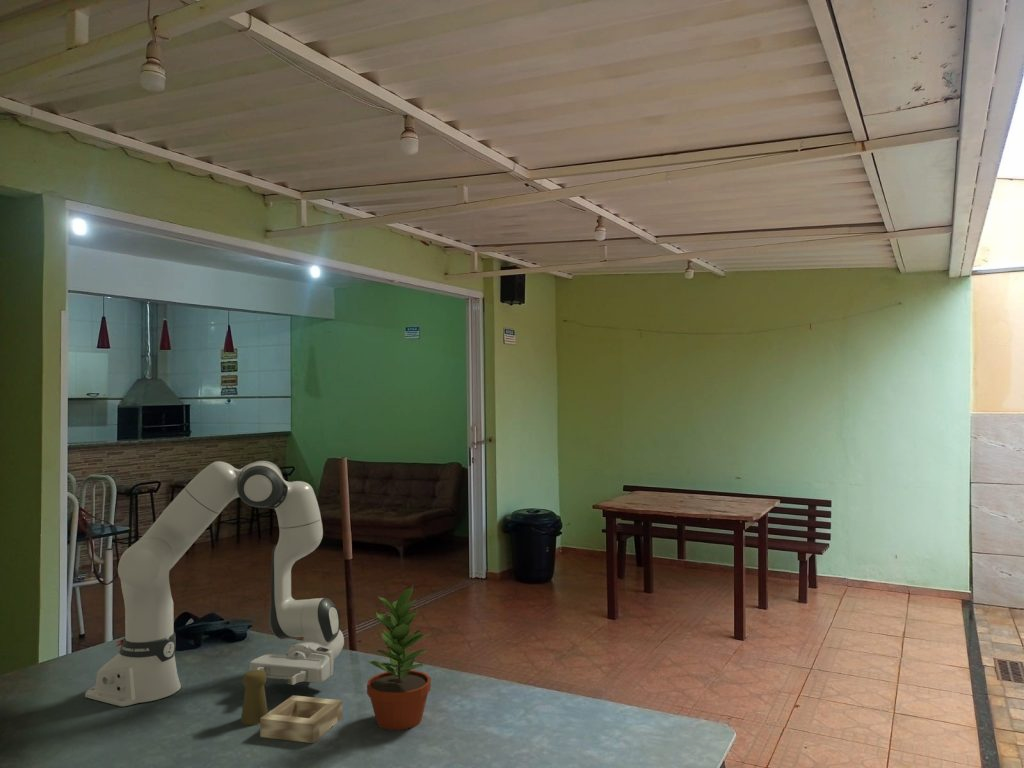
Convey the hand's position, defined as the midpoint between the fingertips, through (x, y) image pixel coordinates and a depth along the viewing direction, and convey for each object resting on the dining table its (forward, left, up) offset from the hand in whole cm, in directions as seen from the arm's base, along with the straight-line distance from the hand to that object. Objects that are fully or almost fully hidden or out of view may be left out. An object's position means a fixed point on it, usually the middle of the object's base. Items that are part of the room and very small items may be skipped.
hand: (272, 679), depth 177 cm
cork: (0, -7, -7) cm, 10 cm away
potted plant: (+33, 0, -7) cm, 34 cm away
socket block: (+13, -8, -6) cm, 17 cm away
